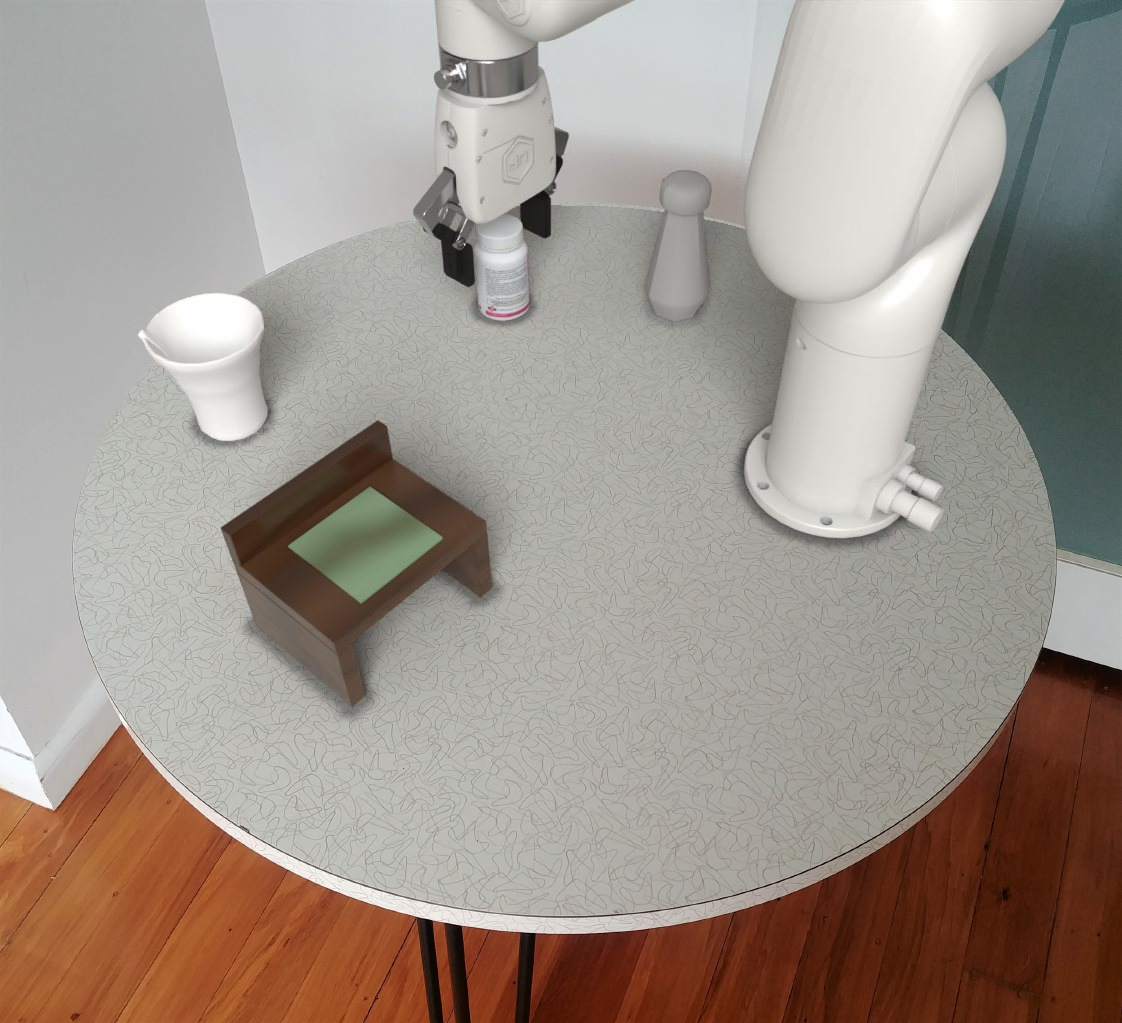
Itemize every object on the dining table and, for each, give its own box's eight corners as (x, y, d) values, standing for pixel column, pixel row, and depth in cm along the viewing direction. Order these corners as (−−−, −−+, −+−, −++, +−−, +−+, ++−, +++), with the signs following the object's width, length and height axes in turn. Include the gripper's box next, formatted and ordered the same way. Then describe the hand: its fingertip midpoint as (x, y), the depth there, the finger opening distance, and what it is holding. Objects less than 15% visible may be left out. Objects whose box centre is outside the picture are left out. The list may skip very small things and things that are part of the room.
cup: (180, 392, 89) (145, 293, 82) (292, 383, 90) (267, 284, 82) (166, 466, 83) (127, 366, 76) (286, 455, 84) (259, 356, 76)
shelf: (492, 587, 75) (483, 488, 67) (352, 707, 68) (325, 612, 61) (395, 519, 79) (377, 419, 72) (255, 625, 72) (219, 527, 65)
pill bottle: (541, 307, 97) (538, 226, 91) (501, 329, 95) (496, 247, 88) (506, 285, 99) (502, 204, 93) (467, 306, 97) (460, 225, 91)
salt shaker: (647, 286, 99) (655, 157, 89) (709, 292, 98) (724, 163, 89) (640, 324, 95) (647, 193, 85) (704, 330, 94) (719, 199, 85)
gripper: (442, 121, 74) (459, 318, 87) (600, 40, 83) (594, 230, 96) (370, 88, 78) (397, 282, 90) (529, 13, 87) (533, 200, 99)
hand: (498, 255), depth 93 cm, fingers open, 9 cm apart
